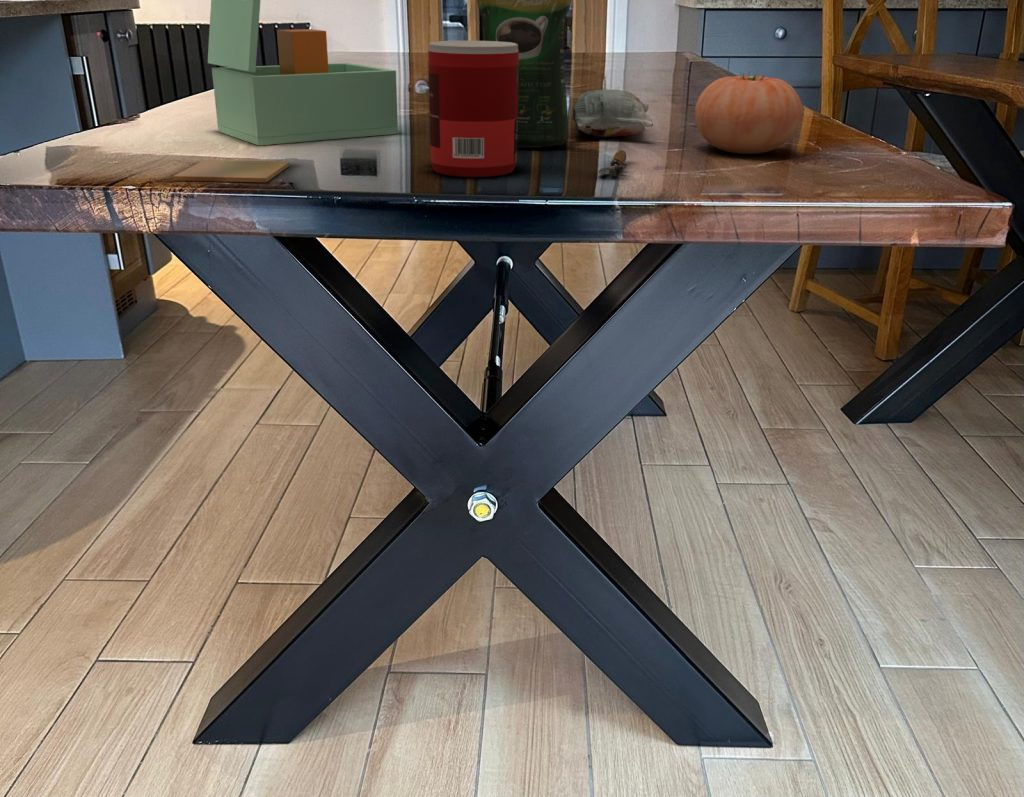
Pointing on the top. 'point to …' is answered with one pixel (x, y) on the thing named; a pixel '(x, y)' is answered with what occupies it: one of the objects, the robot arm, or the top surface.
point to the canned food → (473, 107)
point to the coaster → (232, 171)
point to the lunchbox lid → (234, 33)
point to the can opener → (615, 163)
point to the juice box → (302, 51)
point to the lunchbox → (305, 103)
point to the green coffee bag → (534, 64)
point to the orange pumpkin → (748, 113)
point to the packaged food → (611, 113)
